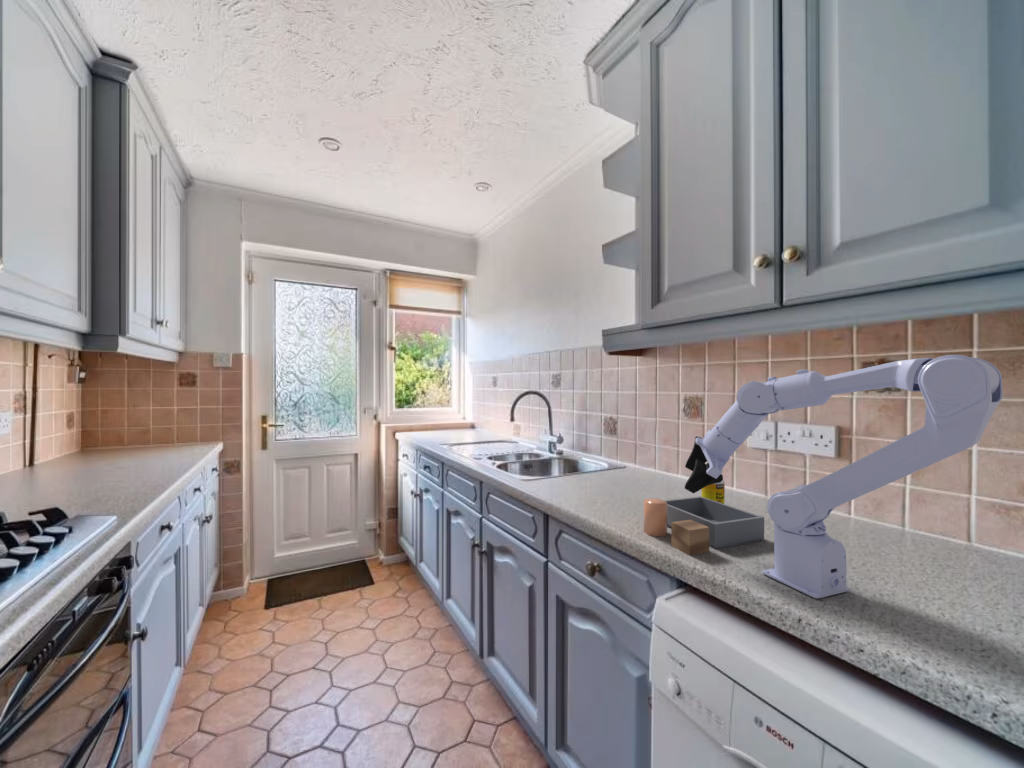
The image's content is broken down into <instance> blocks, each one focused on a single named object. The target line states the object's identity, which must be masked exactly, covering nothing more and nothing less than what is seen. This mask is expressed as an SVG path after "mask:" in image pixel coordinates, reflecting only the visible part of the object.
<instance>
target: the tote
mask: <svg viewBox="0 0 1024 768" xmlns="http://www.w3.org/2000/svg"><path fill="white" fill-rule="evenodd" d="M663 500H664V501H666V502H667V528H669V529H671V522H677V521H684V520H693V521H695V522H698V523H700V524H702V525H705V526H707V527H709V548H712V549H714V550H716V549H717V550H718V549H723V548H729V547H735V546H739V545H746V544H753V543H759V542H765V517H764V516H761V515H758V514H755V513H752V512H749V511H746V510H744V509H741V508H736V507H734V506H731V505H729V504H726V503H724V504H722V503H719V502H716V501H713V500H710V499H707V498H704V497H702V495H701V496H692V497H684V498H675V499H666V500H665V499H663Z"/></svg>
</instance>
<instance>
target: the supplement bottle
mask: <svg viewBox="0 0 1024 768" xmlns="http://www.w3.org/2000/svg"><path fill="white" fill-rule="evenodd" d="M725 485H726V484H725V480H724V479H723V480H722V481H721V482H720V483H714V484H711V485H708V486H706V487H704V488H702V489H701V497H704V498H707V499H710V500H713V501H716V502H719V503H722V504H725V492H726V491H725V489H726V487H725Z"/></svg>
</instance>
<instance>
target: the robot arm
mask: <svg viewBox="0 0 1024 768" xmlns="http://www.w3.org/2000/svg"><path fill="white" fill-rule="evenodd" d="M887 388H897V389H901V390H903V391H908V392H912V393H913V392H921V395H922V397H923V399H924V402H925V404H926V406H925V416H924V417H925V420H924V425H923V427H921V428H919V429H917V430H915V431H913V432H911V433H909V434H907V435H906V436H903V437H901V438H899V439H898V440H895V441H894V442H891V443H890V444H888V445H886V446H884V447H881V448H880V449H878V450H876V451H874V452H872V453H869V454H868V455H865V456H864V457H862V458H860V459H857V460H856V461H853V462H852V463H850V464H848V465H845V466H844V467H841V468H840V469H838V470H836V471H833V472H832V473H829V474H827V475H826V476H824V477H822V478H820V479H818V480H816V481H814V482H811V483H808V484H802V485H798V486H796V487H794V488H792V489H787V490H785V491H778V492H776V493H773V494H772V495H771V496H770V497H769V499H768V500H767V505H766V507H767V509H766V510H767V512H768V515H769V517H770V519H771V520H772V521H773V523H774V525H773V526H774V529H773V530H774V531H773V532H774V534H773V535H774V540H773V541H774V546H773V547H774V548H773V549H774V550H773V551H774V553H773V555H774V558H773V561H774V565H773V566H774V567H772V568H771V567H770V568H767V569H763V570H761V573H762V574H763V575H765V576H767V577H769V578H771V579H774V580H775V581H778V582H780V583H782V584H784V585H786V586H788V587H790V588H792V589H795V590H796V591H799V592H801V593H803V594H806V595H807V596H810V597H811V598H813V599H823V598H826V597H829V596H830V597H831V596H834V595H837V594H842V593H846V592H850V587H849V586H847V552H846V547H845V546H844V544H843V543H842V542H841V541H839V540H838V539H835V538H833V537H831V536H830V535H829V534H828V533H827V528H826V524H825V523H824V520H827V518H828V517H830V514H831V513H832V511H833V510H834V509H836V508H837V507H840V506H842V505H844V504H846V503H848V502H850V501H853V500H855V499H858V498H859V497H862V496H864V495H866V494H869V493H871V492H873V491H875V490H878V489H880V488H882V487H885V486H887V485H889V484H892V483H893V482H896V481H898V480H901V479H903V478H904V477H907V476H909V475H912V474H913V473H916V472H918V471H920V470H922V469H926V468H927V467H929V466H932V465H934V464H936V463H938V462H941V461H943V460H945V459H947V458H950V457H952V456H955V455H956V454H959V453H962V452H963V451H966V450H968V449H970V448H972V447H973V446H976V444H978V443H979V442H980V439H981V438H982V436H983V434H984V432H985V430H986V428H987V426H988V425H989V422H990V420H991V418H992V416H993V415H994V412H995V410H996V409H997V407H998V406H999V404H1000V403H1001V402H1002V399H1003V397H1004V395H1003V377H1002V374H1001V372H1000V370H999V368H998V367H996V366H995V365H994V364H993V363H992V362H990V361H988V360H985V359H982V358H979V357H970V356H966V355H961V354H946V355H942V356H938V357H936V358H932V357H923V358H922V357H921V358H911V359H904V360H903V359H902V360H895V361H892V362H887V363H881V364H878V365H877V364H876V365H872V366H869V367H864V368H860V369H855V370H850V371H846V372H841V373H837V374H832V375H828V376H827V375H824V374H822V373H821V372H819V371H816V370H813V371H809V369H807V368H806V369H805V368H803V369H799V370H796V374H792V375H788V376H784V377H783V376H782V377H779V378H777V376H769V377H767V381H766V382H764V381H762V382H761V381H757V380H751V381H749V382H748V383H745V384H743V385H742V386H741V387H740V388H739V389H738V391H737V394H736V400H735V401H734V403H733V404H732V405H731V406H730V407H729V408H728V410H726V412H725V413H724V414H723V415H722V417H721V418H720V419H719V420H718V422H716V424H715V425H714V426H713V428H709V429H708V430H707V432H706V433H705V434H704V437H700V436H695V437H694V444H693V446H692V447H693V448H692V449H691V452H690V454H689V456H688V458H687V460H686V463H685V465H684V466H685V467H684V468H686V469H687V470H690V471H691V472H692V473H691V474H690V476H689V477H688V479H687V481H686V483H685V484H684V489H685V490H686V491H688V492H690V493H692V494H695V493H698V492H699V491H702V488H704V487H706V486H708V485H711V484H714V483H720V482H721V481H722V480H724V478H723V477H724V476H723V469H724V467H725V465H727V463H728V462H729V461H730V459H731V457H732V455H734V453H735V452H736V451H738V449H739V448H740V447H741V446H742V444H743V443H744V442H745V441H746V440H747V439H748V438H749V437H750V436H751V435H752V434H753V433H754V431H755V430H756V429H757V428H758V427H759V426H760V424H761V423H762V422H763V421H764V420H765V419H766V418H767V417H768V415H770V414H775V413H778V412H780V411H788V410H796V409H801V408H809V407H816V406H823V405H825V404H827V403H828V401H829V400H830V399H831V397H833V396H835V395H842V394H849V393H858V392H864V391H871V390H872V391H874V390H881V389H887Z"/></svg>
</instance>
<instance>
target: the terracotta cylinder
mask: <svg viewBox="0 0 1024 768" xmlns="http://www.w3.org/2000/svg"><path fill="white" fill-rule="evenodd" d="M664 500H665V499H661V498H645V499H643V533H644V534H645V533H646V534H645V535H647V534H648V536H650V535H651V537H656V536H662V537H665V535H666V536H668V527H667V502H666V501H664Z"/></svg>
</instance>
